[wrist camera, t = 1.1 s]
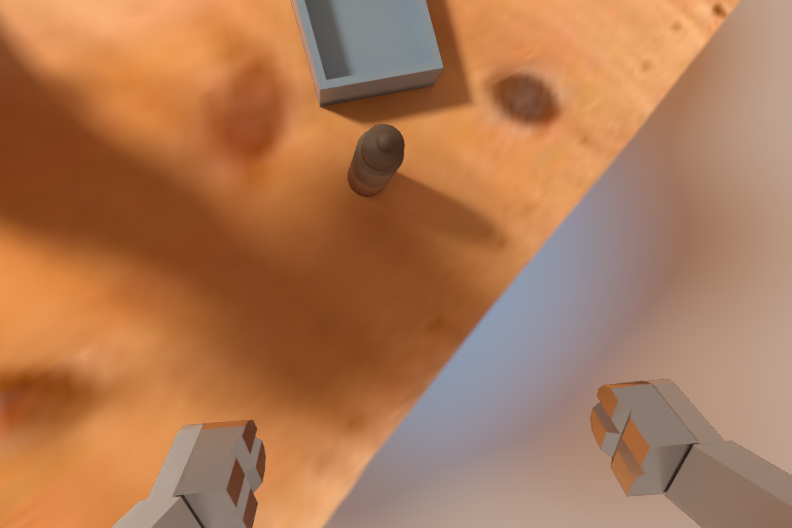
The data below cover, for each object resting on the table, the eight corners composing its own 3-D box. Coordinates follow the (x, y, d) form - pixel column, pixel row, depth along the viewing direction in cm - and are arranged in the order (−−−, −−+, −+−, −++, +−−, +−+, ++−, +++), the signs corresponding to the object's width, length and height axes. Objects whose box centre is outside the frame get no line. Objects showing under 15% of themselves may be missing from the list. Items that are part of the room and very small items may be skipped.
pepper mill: (343, 163, 41) (354, 118, 29) (379, 155, 42) (405, 108, 30) (353, 200, 41) (368, 170, 29) (389, 191, 42) (418, 159, 30)
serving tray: (284, -24, 40) (281, -54, 37) (400, -37, 43) (408, -67, 39) (319, 106, 41) (320, 89, 37) (432, 85, 43) (443, 67, 40)
